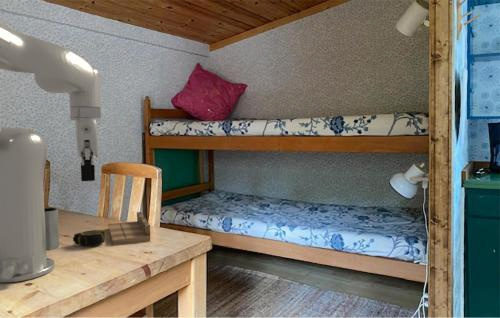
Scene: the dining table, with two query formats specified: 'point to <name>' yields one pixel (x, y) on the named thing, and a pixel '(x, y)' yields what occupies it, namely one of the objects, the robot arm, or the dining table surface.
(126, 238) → the brown wooden tray
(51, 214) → the planter
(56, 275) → the dining table surface
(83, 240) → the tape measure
